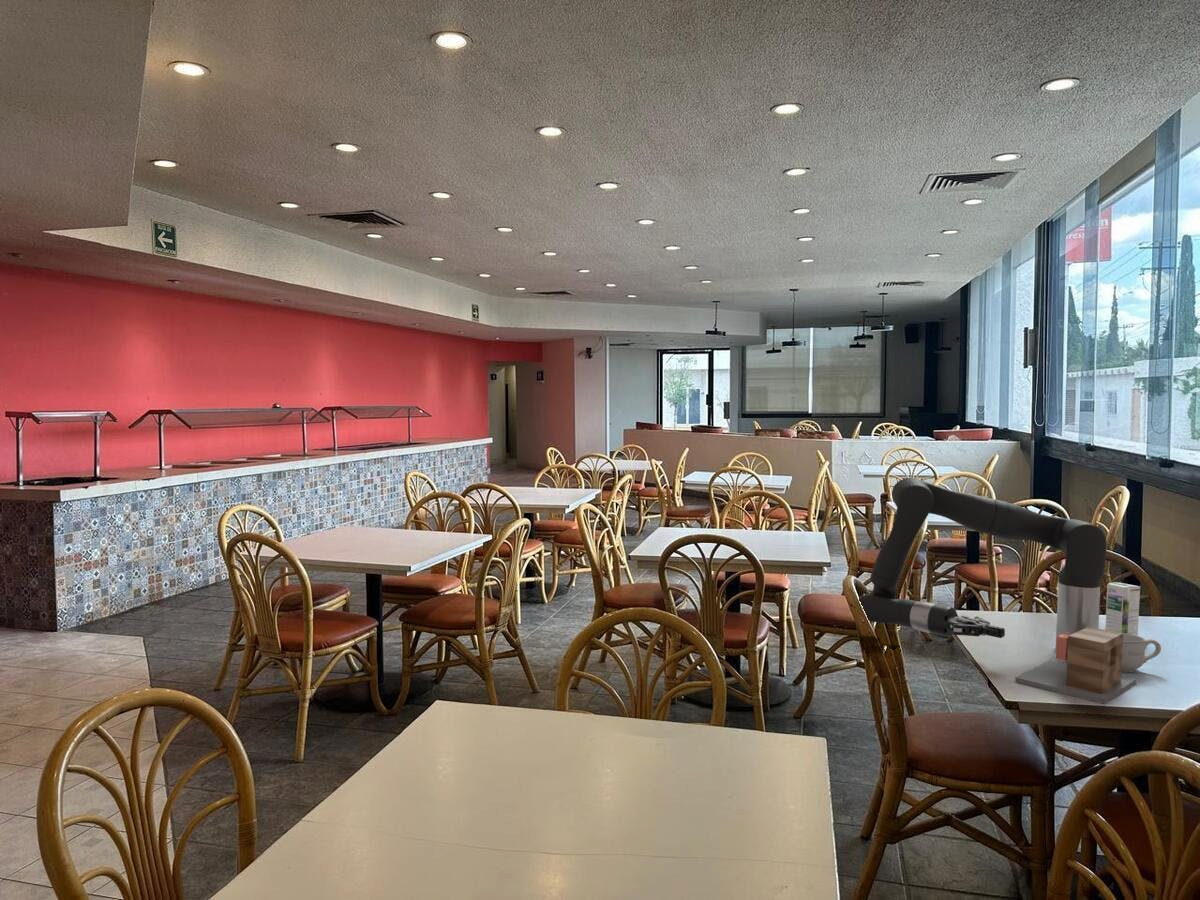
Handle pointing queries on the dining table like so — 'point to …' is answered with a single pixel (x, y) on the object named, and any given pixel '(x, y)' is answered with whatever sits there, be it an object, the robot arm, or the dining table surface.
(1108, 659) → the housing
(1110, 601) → the syrup box
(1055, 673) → the base mat
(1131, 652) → the teacup
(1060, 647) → the red headed square peg
